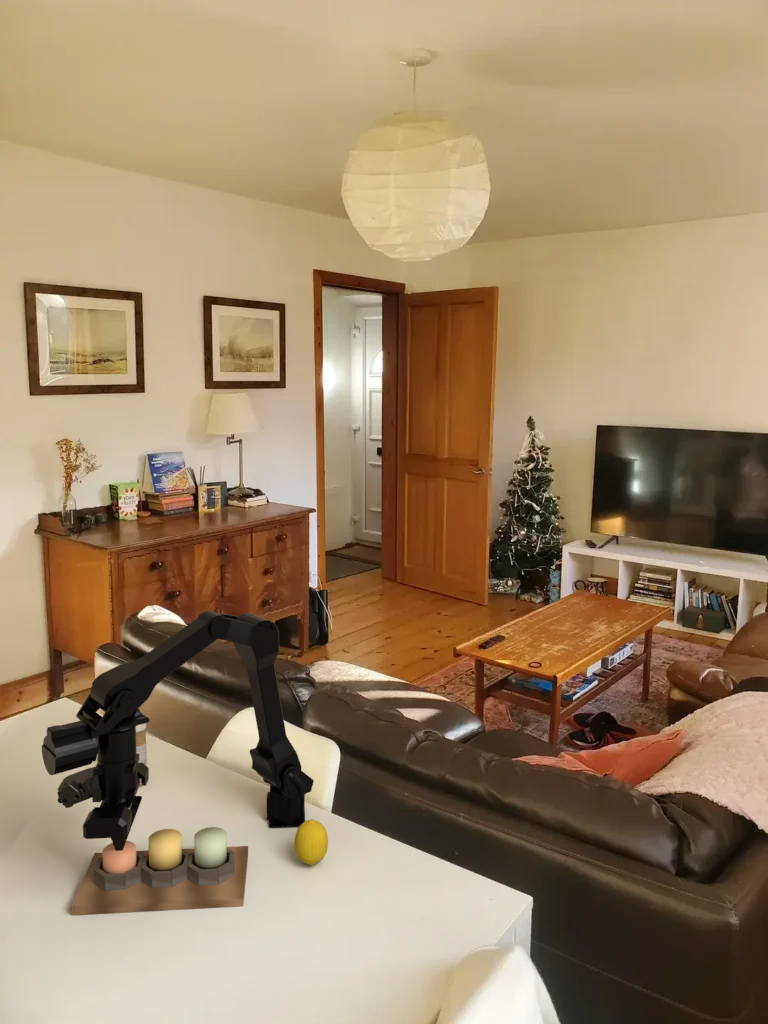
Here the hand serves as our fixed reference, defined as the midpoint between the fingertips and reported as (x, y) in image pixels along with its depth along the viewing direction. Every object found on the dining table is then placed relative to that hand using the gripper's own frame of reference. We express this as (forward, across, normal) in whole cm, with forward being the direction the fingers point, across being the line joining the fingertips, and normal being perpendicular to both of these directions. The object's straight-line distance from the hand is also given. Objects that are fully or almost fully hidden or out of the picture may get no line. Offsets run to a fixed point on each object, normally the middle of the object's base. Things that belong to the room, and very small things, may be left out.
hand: (119, 849), depth 124 cm
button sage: (+2, 0, +14) cm, 14 cm away
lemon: (+6, -3, +30) cm, 31 cm away
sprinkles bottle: (+6, -34, -4) cm, 35 cm away
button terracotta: (+4, 0, 0) cm, 4 cm away
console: (+6, 0, +7) cm, 9 cm away
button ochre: (+2, 0, +7) cm, 7 cm away
